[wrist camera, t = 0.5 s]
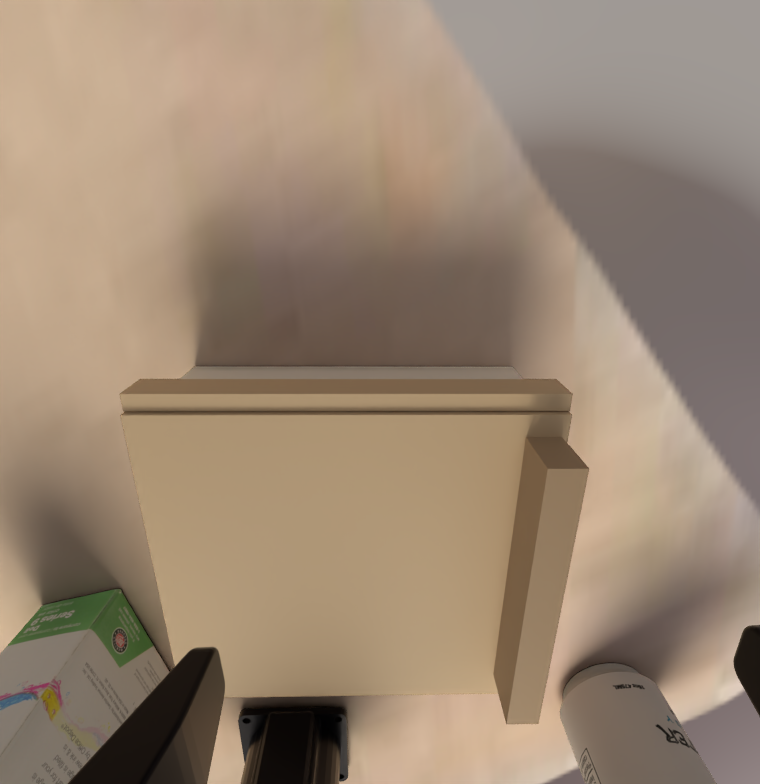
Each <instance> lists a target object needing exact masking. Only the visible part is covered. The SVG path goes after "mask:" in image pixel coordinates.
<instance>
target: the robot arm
mask: <svg viewBox="0 0 760 784" xmlns="http://www.w3.org/2000/svg"><path fill="white" fill-rule="evenodd" d="M734 668H735V671H736V674H737V676H738V678H739V680H740V682H741V684H742V686H743V687H744V689H745V691H746V693H747V695H748V696H749V698H750V700H751V702H752V703H753V705H754V707H755V709H756V711H757V712H758V714H759V716H760V625H752V626H748V627H746V628H745V629H744V631H743V633H742V636H741V639H740V642H739V645H738V647H737V650H736V653H735V656H734ZM224 694H225V679H224V674H223V669H222V664H221V659H220V654H219V651H218V649H217V648H216V647H197V648H193V649H191V650H190V651H189V652H188V653H187V654H186V655H185V656H184V657H183V658H182V659H181V660H180V661H179V663H178V664H177V665H176V666H175V667H174V668H173V669H172V670H171V671H170V672H169V673H168V674H167V676H166V677H165V678H164V679H163V680H162V681H161V682H160V683H159V684H158V685H157V686H156V688H155V689H154V690H153V691H152V692H151V693H150V694H149V695H148V696H147V697H146V698H145V700H144V701H143V702H142V703H141V704H140V705H139V706H138V707H137V708H136V709H135V710H134V712H133V713H132V714H131V715H130V716H129V717H128V718H127V719H126V720H125V721H124V722H123V723H122V725H121V726H120V727H119V728H118V729H117V730H116V731H115V732H114V733H113V734H112V735H111V737H110V738H109V739H108V740H107V741H106V742H105V743H104V744H103V745H102V746H101V747H100V749H99V750H98V751H97V752H96V753H95V754H94V755H93V756H92V757H91V758H90V759H89V760H88V762H87V763H86V764H85V765H84V766H83V767H82V768H81V769H80V770H79V771H78V772H77V774H76V775H75V776H74V777H73V778H72V779H71V780H70V781H69V782H68V783H67V784H207V781H208V776H209V771H210V766H211V760H212V755H213V750H214V745H215V740H216V735H217V730H218V725H219V720H220V715H221V710H222V705H223V700H224ZM238 723H239V729H240V735H241V742H242V748H243V755H244V761H245V766H244V771H243V775H242V780H241V784H339V781H344V780H346V779H347V778H348V742H347V712H346V710H345V709H343V708H340V707H327V708H260V709H244V710H242V711H241V712H240V715H239V720H238Z"/></svg>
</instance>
